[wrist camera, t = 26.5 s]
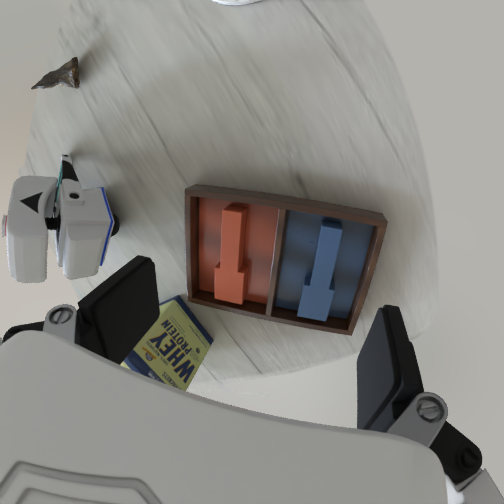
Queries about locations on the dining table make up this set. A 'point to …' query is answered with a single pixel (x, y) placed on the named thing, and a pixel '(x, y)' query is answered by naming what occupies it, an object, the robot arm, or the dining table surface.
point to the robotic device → (57, 225)
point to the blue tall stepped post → (321, 274)
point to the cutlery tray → (281, 254)
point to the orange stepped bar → (232, 257)
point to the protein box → (171, 346)
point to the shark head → (61, 76)
